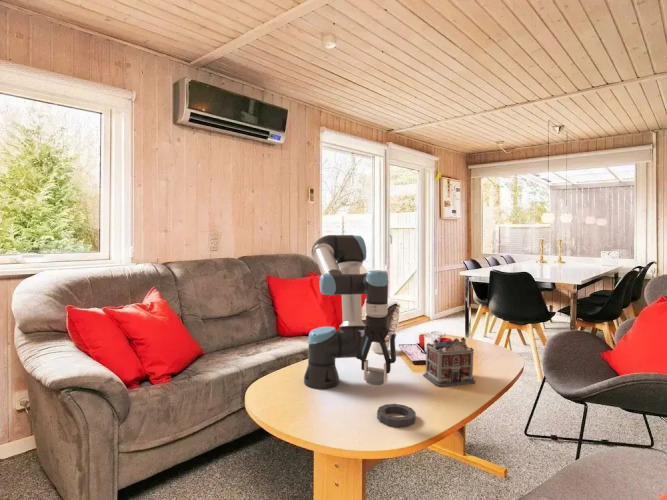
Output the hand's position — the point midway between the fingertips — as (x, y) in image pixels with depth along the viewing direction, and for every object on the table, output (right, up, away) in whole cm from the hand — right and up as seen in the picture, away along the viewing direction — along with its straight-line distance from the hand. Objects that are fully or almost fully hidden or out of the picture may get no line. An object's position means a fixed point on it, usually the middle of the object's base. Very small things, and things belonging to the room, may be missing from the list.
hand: (375, 380), depth 151 cm
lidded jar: (+10, -9, +79) cm, 81 cm away
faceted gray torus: (+7, -14, +1) cm, 16 cm away
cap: (0, 0, 0) cm, 1 cm away
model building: (+36, -12, +40) cm, 55 cm away
